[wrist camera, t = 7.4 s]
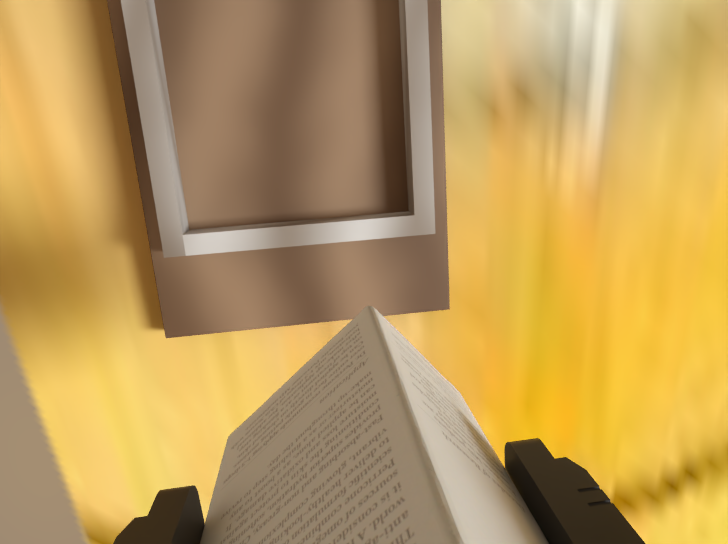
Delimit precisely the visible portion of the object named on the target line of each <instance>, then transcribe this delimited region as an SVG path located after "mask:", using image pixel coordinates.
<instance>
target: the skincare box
mask: <svg viewBox="0 0 728 544" xmlns="http://www.w3.org/2000/svg"><path fill="white" fill-rule="evenodd" d="M200 544H549V543H548V541H547V539H546V537H545V536H544V534H543V532H542V531H541V529H540V527H539V525H538V524H537V522H536V520H535V519H534V517H533V516H532V514H531V512H530V510H529V509H528V507H527V505H526V504H525V502H524V500H523V498H522V497H521V495H520V493H519V492H518V490H517V488H516V487H515V485H514V483H513V482H512V480H511V478H510V476H509V475H508V473H507V471H506V470H505V468H504V466H503V465H502V463H501V461H500V460H499V458H498V456H497V455H496V453H495V451H494V450H493V448H492V446H491V445H490V443H489V441H488V439H487V438H486V436H485V434H484V433H483V431H482V429H481V428H480V426H479V424H478V422H477V421H476V419H475V417H474V416H473V414H472V412H471V411H470V409H469V407H468V406H467V404H466V402H465V400H464V399H463V397H462V395H461V394H460V392H459V391H458V390H457V389H456V388H455V387H454V386H453V385H452V384H451V383H450V382H449V381H448V380H447V379H445V378H444V377H443V376H442V375H441V374H440V373H439V372H438V371H437V370H436V369H435V368H434V367H433V366H432V365H431V364H430V362H429V361H428V360H427V359H426V358H425V357H424V356H423V355H422V354H421V353H420V352H419V351H418V350H417V349H416V348H415V347H414V346H413V345H412V344H411V343H410V342H409V341H408V340H407V339H406V338H405V337H404V336H403V335H402V334H401V333H400V332H399V331H398V330H397V329H396V328H395V327H394V326H393V325H391V324H390V323H389V322H388V321H387V320H386V319H385V318H384V317H383V316H382V315H381V314H380V313H379V312H378V311H377V310H376V309H375V308H374V307H372V306H366V307H365V308H364V309H363V310H362V311H361V312H360V313H359V314H358V315H357V316H356V317H355V318H354V319H353V320H352V321H351V322H350V323H348V324H347V325H346V326H345V327H344V328H343V329H342V330H341V331H340V332H339V333H338V334H337V335H336V336H335V337H333V338H332V339H331V340H330V341H329V342H328V343H327V344H326V345H325V346H324V347H323V348H322V349H321V350H320V351H319V352H317V353H316V354H315V355H314V356H313V357H312V358H311V359H310V360H309V361H308V362H307V363H306V364H305V365H304V366H303V367H301V368H300V369H299V370H298V371H297V372H296V373H295V374H294V375H293V376H292V377H291V378H290V379H289V380H288V381H287V382H286V383H285V384H284V385H283V386H282V387H281V388H279V389H278V390H277V391H276V392H275V393H274V394H273V395H272V396H271V397H270V398H269V399H268V400H267V401H266V402H265V403H264V404H263V405H262V406H261V407H260V408H258V409H257V410H256V411H255V412H254V413H253V414H252V415H251V416H250V417H249V418H248V419H247V420H246V421H244V422H243V423H242V424H241V425H240V426H239V427H238V428H237V429H236V430H235V431H234V432H232V433H231V435H230V436H229V437H228V440H227V443H226V447H225V451H224V455H223V458H222V462H221V465H220V470H219V473H218V477H217V481H216V484H215V488H214V491H213V495H212V499H211V503H210V506H209V511H208V515H207V518H206V522H205V526H204V530H203V534H202V537H201V541H200Z"/></svg>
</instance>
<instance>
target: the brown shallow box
mask: <svg viewBox="0 0 728 544" xmlns="http://www.w3.org/2000/svg"><path fill="white" fill-rule="evenodd" d="M107 2H108V8H109V14H110V20H111V25H112V31H113V37H114V43H115V48H116V54H117V60H118V66H119V71H120V77H121V83H122V89H123V94H124V100H125V106H126V112H127V117H128V123H129V129H130V135H131V140H132V146H133V152H134V158H135V163H136V169H137V175H138V181H139V186H140V192H141V198H142V204H143V210H144V215H145V221H146V227H147V233H148V238H149V244H150V250H151V256H152V261H153V267H154V273H155V279H156V284H157V290H158V296H159V302H160V307H161V313H162V319H163V325H164V330H165V336H166V338H172V337H182V336H192V335H202V334H211V333H221V332H231V331H241V330H250V329H260V328H270V327H280V326H290V325H299V324H309V323H319V322H329V321H339V320H348V319H354V318H355V317H356V316H357V315H358V314H359V313H360V312H361V311H362V310H363V309H364V308H365V307H366V306H372V307H374V308H375V309H376V310H377V311H378V312H379V313H380V314H381V315H382V316H388V315H397V314H407V313H417V312H427V311H437V310H446V309H450V308H449V273H448V238H447V203H446V168H445V133H444V98H443V64H442V29H441V0H107Z"/></svg>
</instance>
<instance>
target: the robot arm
mask: <svg viewBox="0 0 728 544" xmlns="http://www.w3.org/2000/svg"><path fill="white" fill-rule="evenodd" d="M505 470H506V471H507V473H508V475H509V476H510V478H511V480H512V482H513V483H514V485H515V487H516V488H517V490H518V492H519V493H520V495H521V497H522V498H523V500H524V502H525V504H526V505H527V507H528V509H529V510H530V512H531V514H532V516H533V517H534V519H535V520H536V522H537V524H538V525H539V527H540V529H541V531H542V532H543V534H544V536H545V537H546V539H547V541H548V543H549V544H645V543H644V541H643V540H642V539H641V538H640V536H639V535H638V534H637V533H636V531H635V530H634V529H633V528H632V526H631V525H630V524H629V523H628V521H627V520H626V519H625V518H624V516H623V515H622V514H621V513H620V512H619V510H618V509H617V508H616V507H615V505H614V504H613V503H611V502H610V499H609V498H608V497H607V495H606V494H605V493H604V492H603V490H602V489H601V490H600V488H599V485H598V484H597V483H596V482H595V481H594V479H593V478H592V477H591V476H590V474H589V473H588V472H587V471H586V470H585V469H584V468H582V467H581V466H579V465H577V464H576V463H574V462H573V461H571V460H570V459H568V458H566V457H564V458H557V459H554V457H553V456H552V455H551V453H550V452H549V451H548V449H547V448H546V447H545V445H544V444H543V443H542V441H541V440H540V439H538V438H535V439H528V440H521V441H514V442H507V443H506V445H505ZM204 526H205V523H204V519H203V514H202V509H201V504H200V500H199V495H198V491H197V489H196V487H195V486H186V487H179V488H172V489H165V490H160V491H159V492H158V494H157V496H156V498H155V500H154V502H153V505H152V507H151V509H150V512H149V514H148V516H144V517H138V518H134V519H133V520H132V521H131V522H130V524H129V525H128V526H127V527H126V528H125V529H124V530H123V531H122V532H121V533H120V534H119V535H118V536H117V537H116V539H115V541H114V543H113V544H200V541H201V537H202V534H203V530H204Z"/></svg>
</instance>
